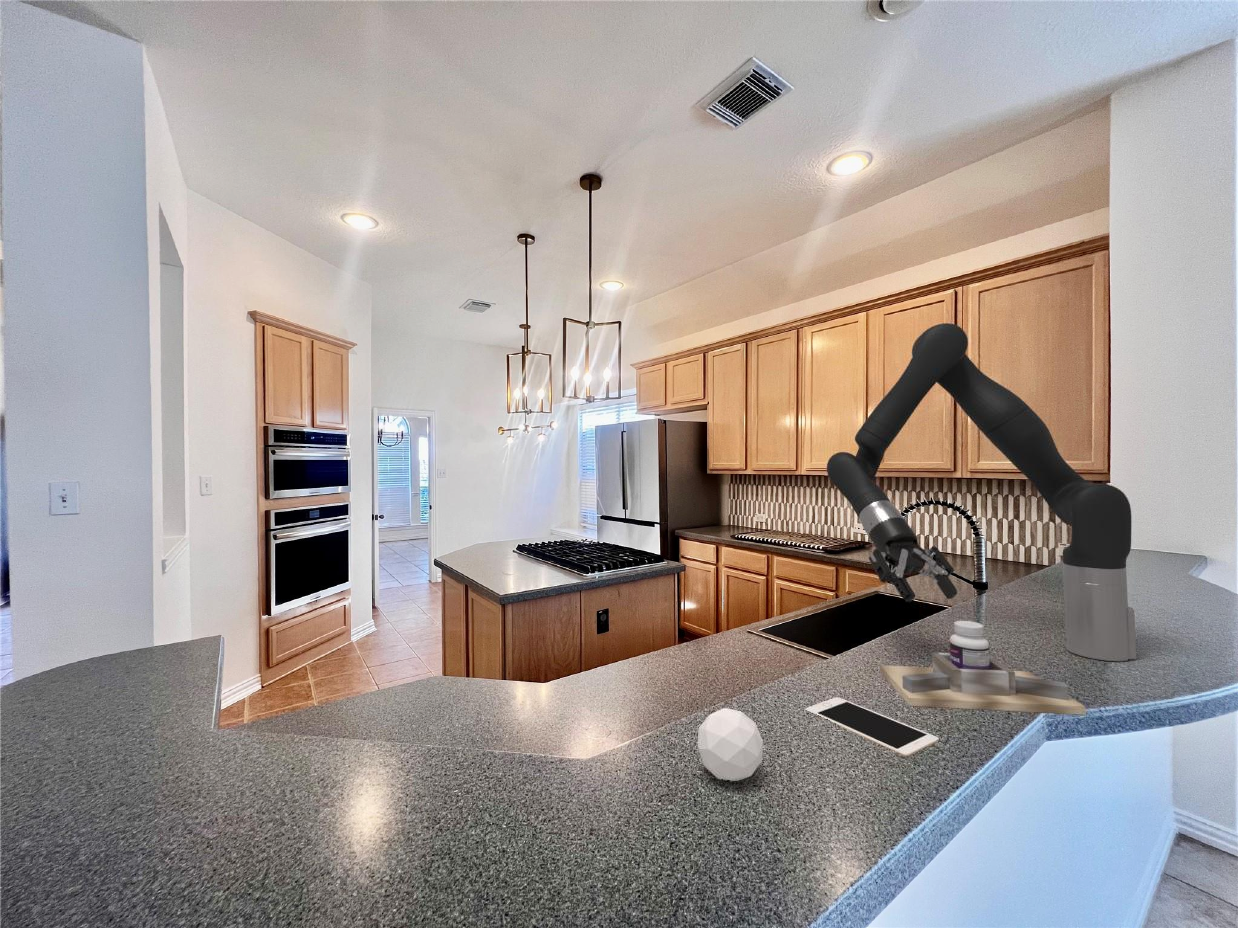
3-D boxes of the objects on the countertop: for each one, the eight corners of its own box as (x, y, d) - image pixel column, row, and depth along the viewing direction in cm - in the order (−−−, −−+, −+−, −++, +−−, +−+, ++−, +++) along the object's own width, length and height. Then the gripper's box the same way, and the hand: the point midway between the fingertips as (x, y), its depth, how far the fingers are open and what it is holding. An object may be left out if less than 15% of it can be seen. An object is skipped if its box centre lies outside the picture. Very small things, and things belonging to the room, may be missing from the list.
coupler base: (1028, 678, 91) (1027, 651, 91) (1085, 714, 77) (1084, 682, 77) (880, 672, 95) (879, 646, 95) (909, 705, 81) (908, 674, 81)
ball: (733, 788, 65) (754, 723, 69) (761, 800, 58) (783, 728, 61) (679, 758, 65) (702, 695, 69) (700, 767, 58) (725, 696, 62)
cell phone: (837, 700, 85) (837, 696, 85) (940, 742, 71) (940, 737, 71) (804, 712, 81) (804, 708, 81) (906, 759, 67) (906, 754, 67)
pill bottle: (947, 675, 90) (946, 618, 90) (985, 679, 88) (983, 620, 88) (954, 687, 85) (953, 626, 85) (994, 692, 83) (992, 630, 83)
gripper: (862, 517, 102) (907, 588, 90) (927, 514, 105) (978, 583, 93) (847, 541, 107) (887, 611, 95) (908, 538, 110) (955, 606, 98)
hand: (932, 597), depth 94 cm, fingers open, 8 cm apart
